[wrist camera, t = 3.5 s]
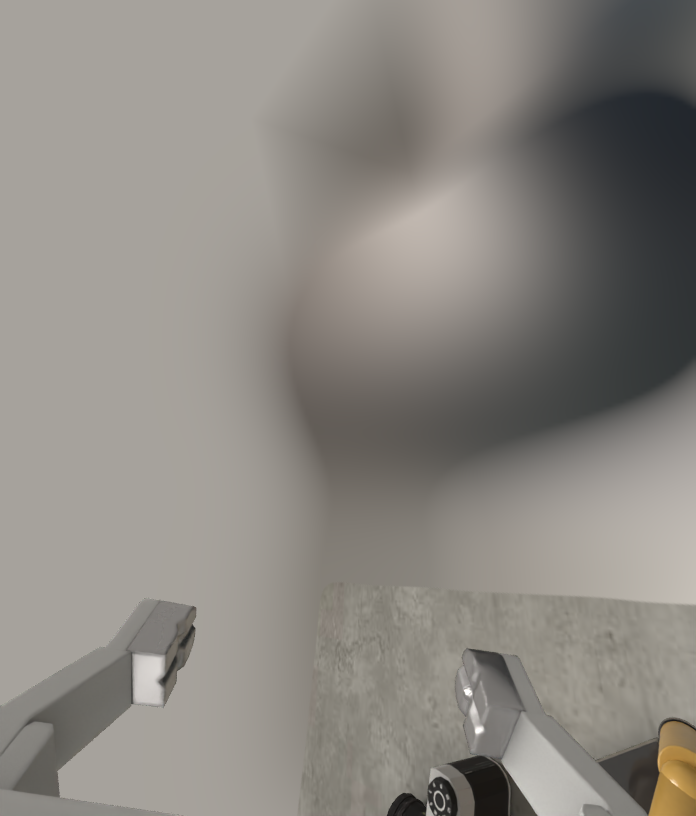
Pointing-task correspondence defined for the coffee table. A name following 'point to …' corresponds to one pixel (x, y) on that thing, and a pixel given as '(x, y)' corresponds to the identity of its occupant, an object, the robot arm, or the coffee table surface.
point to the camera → (460, 791)
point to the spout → (675, 770)
